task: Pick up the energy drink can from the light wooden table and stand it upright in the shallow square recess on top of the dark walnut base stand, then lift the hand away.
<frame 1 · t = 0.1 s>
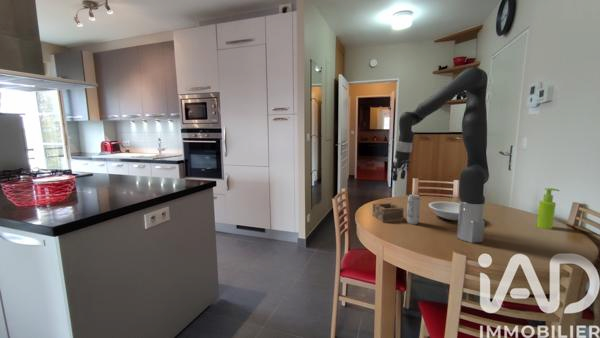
hand: (398, 179, 144), 22 cm above the table, tool pointing down, fingers open, 8 cm apart
white vessel sink: (451, 218, 149), on the table
walnut base stand: (387, 218, 149), on the table
soap dispenser: (545, 227, 135), on the table
energy drink can: (412, 223, 141), on the table
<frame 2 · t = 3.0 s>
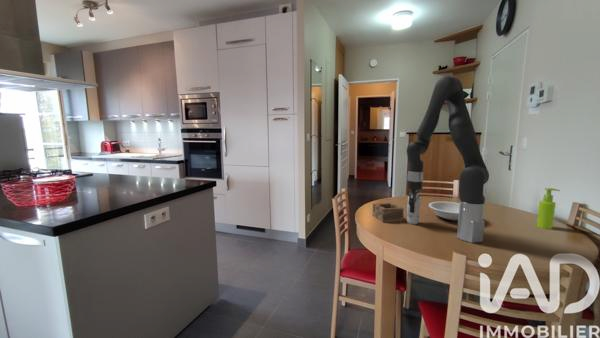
hand: (413, 210, 140), 7 cm above the table, tool pointing down, fingers closed on energy drink can, 6 cm apart
energy drink can: (412, 223, 141), on the table, touching gripper
everything else where it was.
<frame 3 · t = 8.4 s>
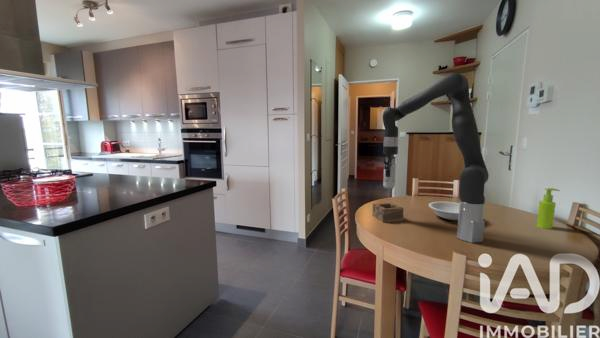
hand: (389, 175, 146), 24 cm above the table, tool pointing down, fingers closed on energy drink can, 6 cm apart
energy drink can: (388, 188, 147), point 17 cm above the table, touching gripper
everything else where it was.
when the fingers open (10 cm above the table, at t = 13.7 s): energy drink can stays where it is, resting on walnut base stand.
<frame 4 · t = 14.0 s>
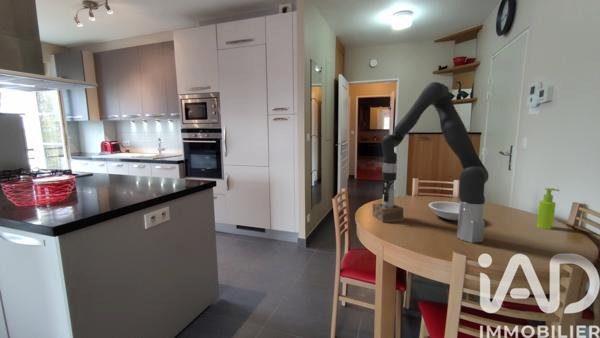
hand: (388, 199, 148), 10 cm above the table, tool pointing down, fingers open, 8 cm apart
energy drink can: (387, 213, 149), point 3 cm above the table, touching walnut base stand
everything else where it was.
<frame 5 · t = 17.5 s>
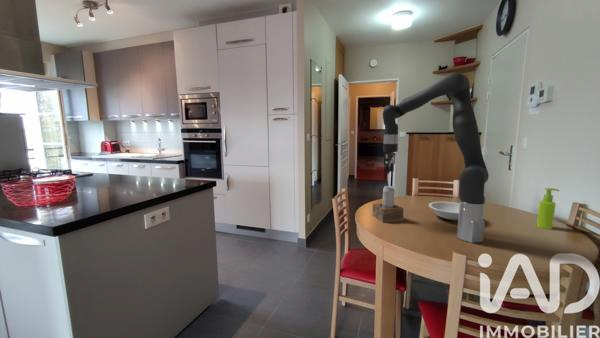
hand: (389, 172, 145), 26 cm above the table, tool pointing down, fingers open, 8 cm apart
nothing on the table moved.
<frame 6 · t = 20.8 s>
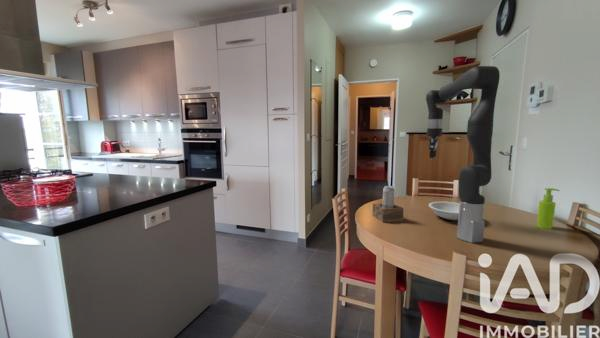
hand: (432, 157, 147), 34 cm above the table, tool pointing down, fingers open, 8 cm apart
nothing on the table moved.
at the end: energy drink can 0.1 cm off-centre on the walnut base stand, point 2.8 cm above the walnut base stand's base; energy drink can tilted 0°; the gripper is holding nothing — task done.
